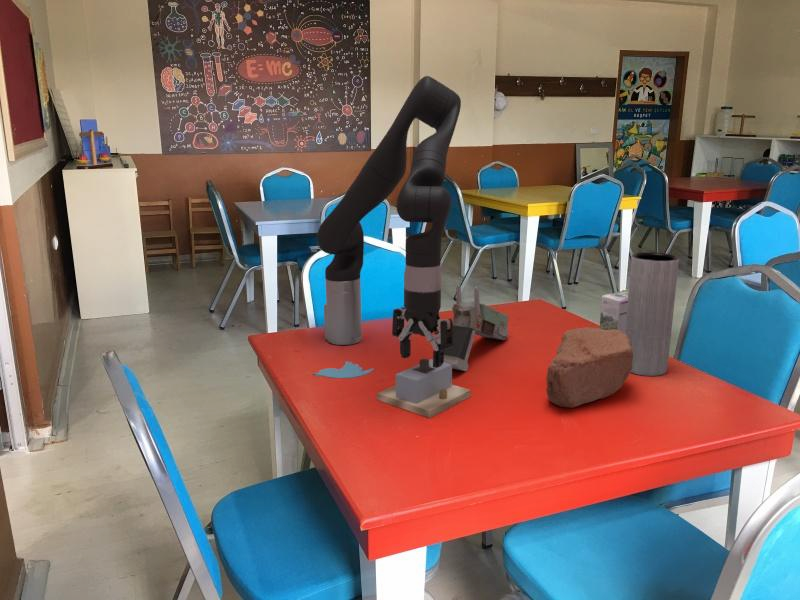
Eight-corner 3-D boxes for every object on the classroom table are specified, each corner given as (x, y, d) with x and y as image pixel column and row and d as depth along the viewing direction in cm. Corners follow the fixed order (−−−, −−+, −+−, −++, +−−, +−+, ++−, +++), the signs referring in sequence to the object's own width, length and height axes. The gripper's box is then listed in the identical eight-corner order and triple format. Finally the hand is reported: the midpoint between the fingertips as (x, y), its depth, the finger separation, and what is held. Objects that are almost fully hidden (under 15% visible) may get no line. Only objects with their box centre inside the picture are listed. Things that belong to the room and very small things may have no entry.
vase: (617, 361, 160) (627, 251, 153) (660, 362, 159) (671, 252, 152) (627, 375, 150) (637, 260, 143) (672, 377, 149) (685, 260, 142)
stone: (511, 397, 135) (535, 335, 128) (559, 359, 155) (582, 304, 149) (583, 439, 128) (612, 376, 121) (623, 393, 148) (650, 337, 141)
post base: (377, 399, 138) (376, 361, 135) (419, 380, 148) (419, 345, 146) (429, 418, 129) (430, 377, 127) (470, 396, 139) (471, 358, 137)
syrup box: (630, 351, 167) (635, 296, 163) (615, 356, 163) (619, 299, 160) (611, 345, 171) (616, 291, 167) (596, 349, 168) (600, 295, 164)
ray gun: (432, 365, 150) (446, 279, 152) (477, 373, 178) (488, 301, 180) (461, 370, 147) (475, 283, 148) (502, 377, 175) (514, 304, 177)
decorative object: (377, 371, 155) (346, 362, 161) (377, 369, 155) (346, 360, 161) (342, 386, 146) (310, 376, 152) (342, 384, 146) (310, 374, 152)
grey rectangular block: (431, 380, 144) (431, 358, 143) (451, 386, 141) (452, 364, 139) (395, 396, 135) (395, 374, 134) (416, 403, 132) (416, 380, 130)
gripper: (462, 288, 130) (459, 365, 134) (407, 277, 139) (407, 349, 143) (439, 295, 125) (437, 375, 129) (383, 283, 134) (383, 358, 138)
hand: (421, 361), depth 136 cm, fingers open, 8 cm apart
